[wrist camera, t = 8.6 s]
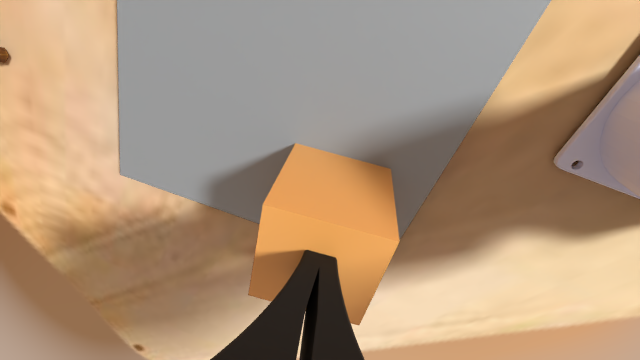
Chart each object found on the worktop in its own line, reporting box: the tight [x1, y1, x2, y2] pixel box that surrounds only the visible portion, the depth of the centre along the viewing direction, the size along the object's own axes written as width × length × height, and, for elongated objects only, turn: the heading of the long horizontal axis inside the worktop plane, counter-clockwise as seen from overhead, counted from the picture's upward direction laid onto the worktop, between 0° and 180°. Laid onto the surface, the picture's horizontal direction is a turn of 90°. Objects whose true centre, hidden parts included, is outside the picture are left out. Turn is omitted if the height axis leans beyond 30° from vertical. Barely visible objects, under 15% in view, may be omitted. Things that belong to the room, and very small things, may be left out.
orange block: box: [248, 143, 400, 325], centre depth 16 cm, size 5×5×6 cm
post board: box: [117, 0, 551, 240], centre depth 14 cm, size 18×18×6 cm
